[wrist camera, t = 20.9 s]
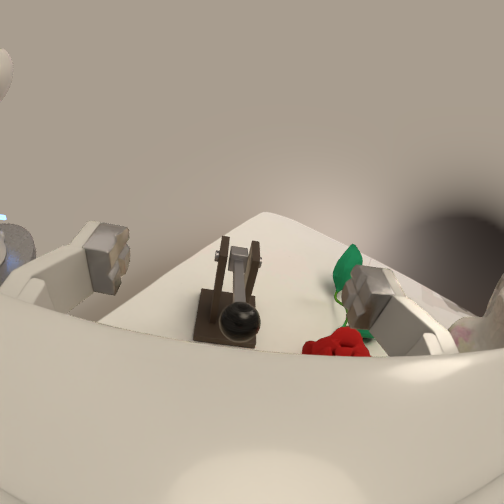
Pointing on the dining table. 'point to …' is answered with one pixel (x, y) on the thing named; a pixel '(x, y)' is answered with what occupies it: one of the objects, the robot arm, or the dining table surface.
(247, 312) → the lever
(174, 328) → the dining table surface
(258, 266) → the bracket
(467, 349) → the ceramic pitcher
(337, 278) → the decorative flower
